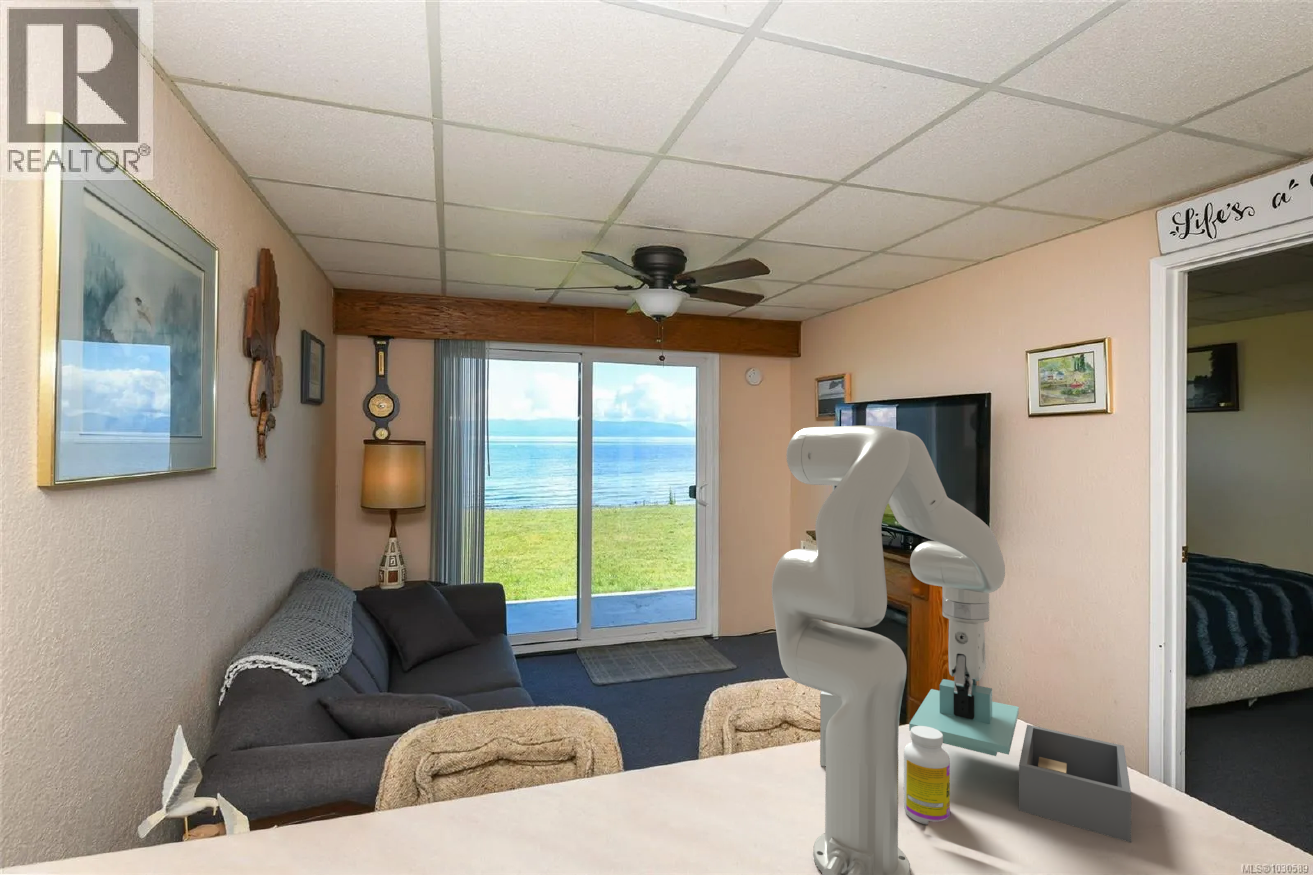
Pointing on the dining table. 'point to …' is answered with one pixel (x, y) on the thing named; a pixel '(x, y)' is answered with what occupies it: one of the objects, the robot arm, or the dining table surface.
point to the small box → (826, 719)
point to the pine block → (1052, 765)
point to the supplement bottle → (926, 776)
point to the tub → (1076, 782)
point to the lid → (969, 720)
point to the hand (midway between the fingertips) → (965, 711)
